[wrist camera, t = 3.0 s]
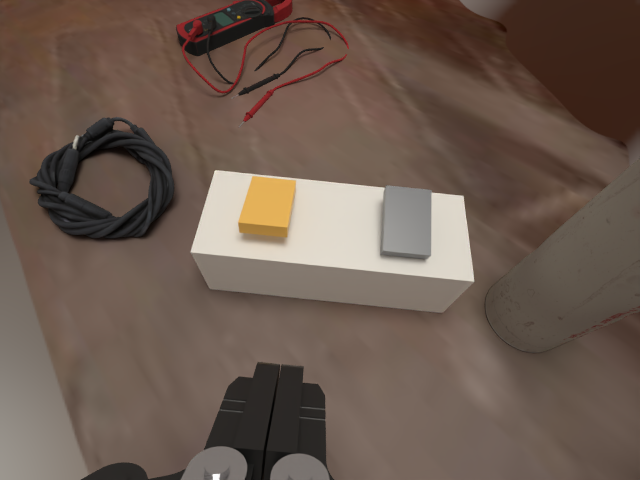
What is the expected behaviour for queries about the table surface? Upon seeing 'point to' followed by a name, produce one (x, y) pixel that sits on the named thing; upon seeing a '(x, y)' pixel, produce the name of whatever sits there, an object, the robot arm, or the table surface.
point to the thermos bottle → (575, 274)
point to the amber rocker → (268, 207)
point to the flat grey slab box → (406, 222)
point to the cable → (85, 215)
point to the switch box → (331, 248)
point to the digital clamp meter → (237, 24)
